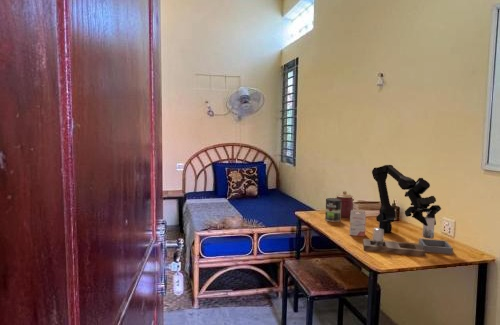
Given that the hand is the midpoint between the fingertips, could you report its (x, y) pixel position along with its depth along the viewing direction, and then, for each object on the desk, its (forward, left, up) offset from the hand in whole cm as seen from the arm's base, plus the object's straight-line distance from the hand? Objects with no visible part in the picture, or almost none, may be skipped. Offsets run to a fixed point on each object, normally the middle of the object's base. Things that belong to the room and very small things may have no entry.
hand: (430, 225), depth 177 cm
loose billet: (-1, +1, -7) cm, 7 cm away
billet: (-25, -4, -13) cm, 29 cm away
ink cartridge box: (-34, +18, -14) cm, 41 cm away
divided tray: (-18, -4, -13) cm, 23 cm away
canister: (-42, +65, -14) cm, 79 cm away
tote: (+4, +4, -13) cm, 14 cm away
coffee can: (-49, +49, -14) cm, 71 cm away
